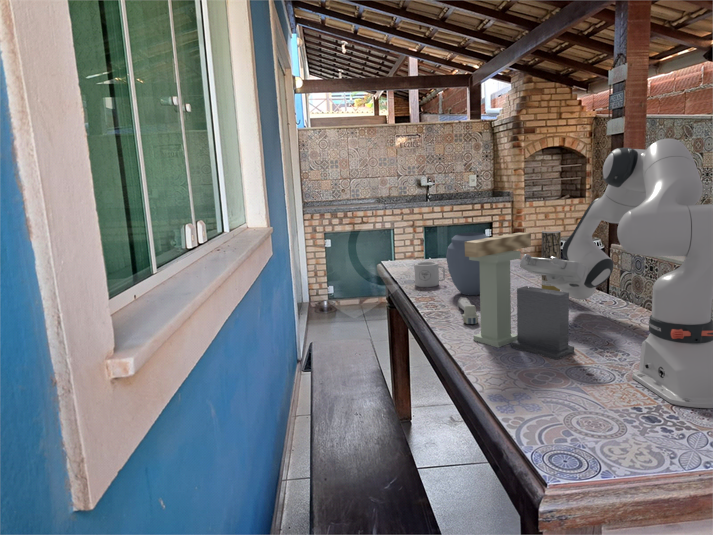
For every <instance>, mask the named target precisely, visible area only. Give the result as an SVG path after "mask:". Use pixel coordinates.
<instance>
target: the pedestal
mask: <svg viewBox="0 0 713 535" xmlns="http://www.w3.org/2000/svg"><path fill="white" fill-rule="evenodd" d="M521 255H522V254H521V251H520V250H511V251H506V252H501V253H496V254H491V255H487V256H482V257H477V258H476V257H469V260H474V261H479V263H480V294H479V302H480V303H479V304H480V305H479V306H480V310H479V311H480V313H479V314H480V332H479V333H477V334H474V335H473V341H474V340H475V342H477V341H478V342H477V343H481V344H484V345H488V346H492V347H496V348H500V347H504V346H506V345H508V344H511V342H513V341H516V340H517V334H516V333H512V323H511V322H512V320H511V319H512V311H511V310H512V307H511V306H512V305H511V301H512V300H511V293H512V292H511V290H512V289H511V288H512V287H511V261H514V260H519V259H520V260H521V259H522V257H521Z"/></svg>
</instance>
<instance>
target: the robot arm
mask: <svg viewBox="0 0 713 535" xmlns="http://www.w3.org/2000/svg"><path fill="white" fill-rule="evenodd" d="M602 178H603V180H604V182H605V183H606V184H607V186H606V189H605V191H604V192H603V195H602V196H601V197H600V196H599V197H598V198H596V199H594V200H593V201H592V202H591V203H590V204H589V205H588V207H587V208H586V210H585V212H584V213H583V215H582V217H580V220H579V221H578V223H577V224H576V226H575V228H574V230H573V231H572V233H571V234H570V236H568V238H567V239H566V240H565V241H564V243H563V246H562V253H561V254H562V256H563V257H564V258H565V259H566V260H565V259H561V260H560V259H558V258H556V257H551V259H546V258H542V257H533V256H531V254H523V256H522V257H521V258H520V263H519V266H520V268H522V269H523V270H525V271H526V272H528V273H531V274H533V275H539V276H540V275H541V276H542V275H546V278H547V281H548V282H549V283H550V284H552V285H553V286H555V287H556V288H558V289H560V291H562V292H568V293H569V298H572V299H575V300H587V299H589V298H591V297H592V296H593V295H594V294H595V291H596V288H597V287H599V286H601V285H602V284H604V283H605V282H606V281H607V280H608V279H609V278H610V277H611V276H612V274H613V272H614V260H613V259H611V258H610V257H609V255H608V254H607V253H605V252H604V250H602V249H601V248H600V247H599V246H598V245H597V244H596V243H595V242H594V240H593V235H594V233H595V232H596V229H597V228H598V227H599V225H600V223H601V222H602V221H603V222H607V223H610V224H617V225H618V226H617V229H616V230H617V231H616V234H617V239H618V242H619V244H620V246H621V247H622V248H623V250H625V252H627V253H629V254H634V255H637V256H638V255H639V256H646V257H684V261H683V262H682V263H681V265H680V266H679V267H678V268H676V269H673V270H671V271H669V272H666V273H664V274H663V275H661V276H659V277H658V278H657V279H656V280H655V281H654V284H653V285H652V295H651V296H652V298H651V302H652V303H651V314H650V315H649V320H648V332H649V335H648V336H647V338H645V340H643V341H642V343H641V348H640V354H639V355H640V357H639V358H640V359H639V365H638V366H639V367H638V370H636V371H634V372H632V376H631V378H632V379H634V380H635V381H636V382H637V383H639V384H641V385H642V386H643V387H645V388H647V389H648V390H650V391H651V392H652V393H654V394H656V395H657V396H659V397H660V398H662V400H665V401H667V402H668V403H670V404H672V405H676V406H679V407H680V406H681V407H686V408H688V407H689V408H697V409H699V408H700V409H713V319H712V309H713V203H711V204H710V203H709V204H707V203H706V204H697V203H699V201H700V200H701V199H702V195H703V192H704V186H703V182H702V179H701V176H700V173H699V170H698V166H697V165H696V161H695V160H694V157H693V155H692V153H691V152H690V151H689V149H688V148H687V146H686V145H685V144H684V143H683V142H682V141H680V140H678V139H675V138H663V139H659V140H656V141H655V142H653V143H652V144H650V145H649V146H648V147H647V148H646V149H639V148H631V147H618V148H615V149H613V150H612V151H610V152H609V153H608V155H607V158H605V160H604V163H603V166H602Z"/></svg>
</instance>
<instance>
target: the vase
mask: <svg viewBox="0 0 713 535" xmlns="http://www.w3.org/2000/svg"><path fill="white" fill-rule="evenodd" d="M484 238H490V237H489V236H488V235H487V234H485V233H484V232H462V233H457V234H455V235H454V236H453V237H451V243H450V244H449V245H448V246H447V249H446V256H445V258H446V259H445V260H446V264H447V268H448V273H449V275H450V277H451V280H452V283H453V285H454V286H455V288H456V289H457V291H458V292H459V293H461V295H464V296H480V263H479V261H474V260H469V257H467V256H465V242H467V241H473V240H479V239H484Z"/></svg>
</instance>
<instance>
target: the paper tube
mask: <svg viewBox="0 0 713 535" xmlns="http://www.w3.org/2000/svg"><path fill="white" fill-rule="evenodd" d="M561 233H562V232H561V230H560V229H543V230H541V258H546V259H551V257H556V258H558V259H560V260H562V258H561V256H562V255H561V254H562V253H561V249H562V248H561V245H562V244H561V243H562V242H561V241H562V240H561V239H562V238H561V237H562V236H561V235H562V234H561ZM541 288H542V289H548V290H555V291H561V290H560V289H558V288H556V287H555V286H553V285H552V284H550V283H549V282H548V281H547V278H546V275H541Z"/></svg>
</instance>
